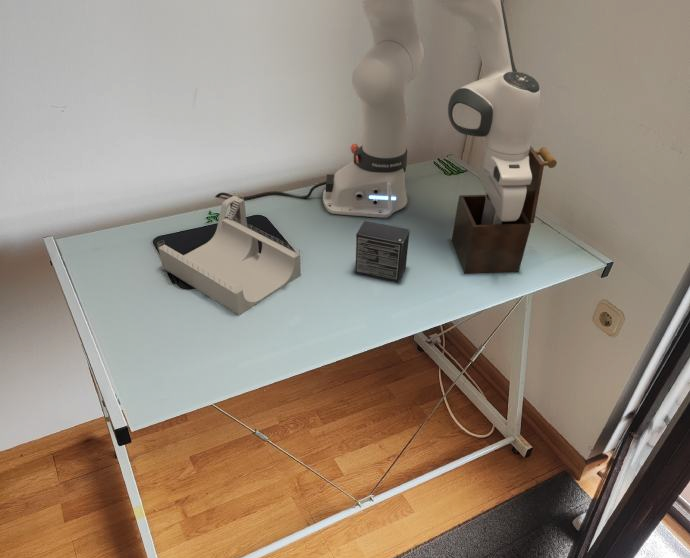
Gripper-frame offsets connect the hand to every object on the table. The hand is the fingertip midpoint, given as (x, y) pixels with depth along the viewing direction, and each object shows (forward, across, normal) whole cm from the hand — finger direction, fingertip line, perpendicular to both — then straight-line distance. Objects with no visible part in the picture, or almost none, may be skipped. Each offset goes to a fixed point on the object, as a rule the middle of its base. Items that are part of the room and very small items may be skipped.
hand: (492, 217), depth 129 cm
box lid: (-9, 0, +5) cm, 10 cm away
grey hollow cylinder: (+5, 0, 0) cm, 5 cm away
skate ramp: (+10, +1, -57) cm, 58 cm away
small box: (+10, +4, -25) cm, 28 cm away
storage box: (+10, 0, 0) cm, 10 cm away
